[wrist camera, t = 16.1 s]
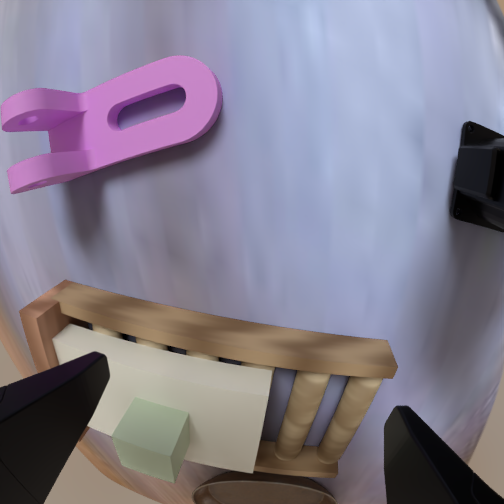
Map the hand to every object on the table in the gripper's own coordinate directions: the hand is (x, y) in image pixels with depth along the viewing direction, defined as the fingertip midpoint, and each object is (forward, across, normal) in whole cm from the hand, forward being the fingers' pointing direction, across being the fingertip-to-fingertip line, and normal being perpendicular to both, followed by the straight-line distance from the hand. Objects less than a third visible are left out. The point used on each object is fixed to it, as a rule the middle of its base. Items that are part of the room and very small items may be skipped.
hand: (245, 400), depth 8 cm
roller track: (+12, +3, +12) cm, 17 cm away
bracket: (+12, +11, -8) cm, 18 cm away
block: (+7, +6, +12) cm, 15 cm away
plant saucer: (+12, -4, +31) cm, 34 cm away
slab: (+10, +7, +12) cm, 17 cm away
